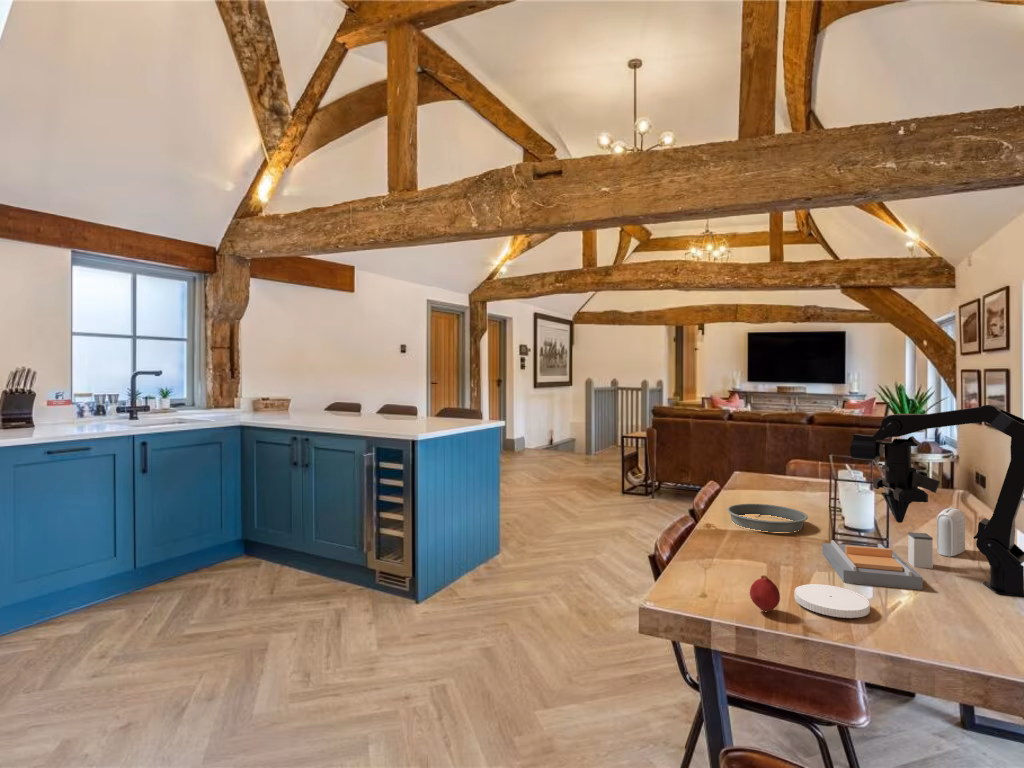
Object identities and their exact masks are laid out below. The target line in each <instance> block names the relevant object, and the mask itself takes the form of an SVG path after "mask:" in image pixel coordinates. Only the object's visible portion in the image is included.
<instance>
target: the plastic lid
mask: <svg viewBox="0 0 1024 768" xmlns="http://www.w3.org/2000/svg"><path fill="white" fill-rule="evenodd" d="M794 601H795V602H796V603H797V604H798V605H800V606H801V607H803V608H805V609H807V610H810V611H813V612H815V613H818V614H822V615H824V616H825V615H826V616H830V617H836V618H844V619H845V618H846V619H852V618H853V619H854V618H855V619H856V618H862V617H866V616H867V615H869V614H870V612H871V605H870V604H871V603H870V601H869V600H868V598H866V597H865V596H863V595H862V594H860V593H858V592H856V591H853V590H850V589H847V588H843V587H841V586H840V587H839V586H836V585H829V584H822V583H821V584H820V583H819V584H818V583H815V584H814V583H813V584H812V583H811V584H810V583H806V584H803V585H799V586H796V587H795V588H794Z"/></svg>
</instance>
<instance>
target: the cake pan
mask: <svg viewBox="0 0 1024 768" xmlns="http://www.w3.org/2000/svg"><path fill="white" fill-rule="evenodd" d="M726 510H727V513H729V514H730V517H731V518H730V519H731V522H732V521H733V522H734V523H735V524H737V525H739V526H742V527H745V528H750V529H755V530H761V531H768V532H794V531H798V530H800V529H801V530H802V529H803V526H804V523H805V521H807V520H808V518H809V516H808V514H807V513H805V512H804V511H801V510H798V509H795V508H791V507H787V506H782V505H781V506H780V505H777V504H776V505H775V504H765V503H738V504H733V505H731V506H728V507H727V509H726ZM745 514H760V515H771V516H777V517H782V518H786V519H790V520H793V521H787V520H782V521H780V520H768V519H767V520H766V519H760V520H758V519H759V518H758V519H752V518H747V517H743V516H739V515H745ZM801 530H800V531H801ZM798 532H799V531H798ZM794 533H795V532H794Z"/></svg>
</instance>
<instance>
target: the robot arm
mask: <svg viewBox="0 0 1024 768" xmlns="http://www.w3.org/2000/svg"><path fill="white" fill-rule="evenodd" d="M977 423H978V424H979V423H987V424H989V426H992V427H993V428H995V429H996V430H997V431H999V432H1001V433H1003V434H1004V435H1007V436H1008V437H1010V438H1011V439H1010V449H1009V450H1010V462H1009V463H1008V468H1007V471H1006V473H1005V477H1004V480H1003V483H1002V486H1001V489H1000V491H999V494H998V498H997V500H996V503H995V507H994V509H993V514H992V516H991V517H990V519H988V518H985V517H983V518H982V519H981V520H980V521H979V522H978V526H977V532H976V534H975V535H974V536H973V539H974V540H976V542H975V544H976V546H975V547H976V548H977V550H979V552H980V553H981V554H982V555H983V556H985V557H986V559H987V563H988V564H989V567H990V568H989V571H990V572H989V581H982V584H983V585H984V586H985V587H987V588H988V589H989V590H991V591H993V592H994V593H995V594H998V595H1003V596H1004V595H1006V596H1014V597H1015V596H1016V597H1024V565H1022V564H1023V563H1024V550H1023V549H1021V547H1019V546H1018V545H1017V544H1016V543H1015V541H1016V539H1015V538H1016V518H1017V515H1018V513H1019V509H1020V507H1021V504H1022V500H1023V497H1024V418H1022V417H1019V416H1017V415H1015V414H1013V413H1010V412H1009V411H1006V410H1004V409H1002V408H1000V407H999V406H997V405H994V404H985V405H981V406H975V407H970V408H969V407H968V408H962V409H955V410H954V409H953V410H947V411H939V412H934V413H896V414H895V413H894V414H890V415H887V416H885V417H884V418H883V419H882V420H881V423H880V428H878V430H877V431H876V432H875V434H874V435H868V434H860V433H854V434H853V435H852V440H851V442H850V446H849V454H850V457H851V458H852V459H853V460H856V459H857V460H863V461H865V460H866V461H876V462H877V461H879V459H880V458H882V457H884V464H881V468H882V469H883V470H884V477H875V478H874V479H873V480H872V488H874V489H875V490H879V489H880V488H882V489H884V492H881V493H880V495H881V496H882V497H883V499H884V501H885V502H886V504H887V506H888V508H889V510H890V512H891V514H892V516H893V518H894V520H895V522H897V523H899V524H902V523H904V519H905V517H906V513H907V510H908V508H909V505H911V503H929V494H928V493H927V492H926V491H925V490H928V491H929V492H931V493H937V491H938V489H939V485H940V483H941V481H940V480H937V479H935V478H931V477H929V476H928V473H927V472H925V471H923V470H919V469H916V468H915V467H913V466H912V465H913V464H912V463H913V462H912V447H919V446H922V442H920V441H919V440H917V438H915V437H914V436H913V435H912V436H909V437H908V438H899V437H902V436H903V437H904V436H906V435H909V434H910V435H911V434H912V433H913V434H914V433H916V432H922V431H924V430H929V429H935V428H943V427H952V426H953V427H954V426H962V425H968V424H969V425H970V424H977ZM897 437H898V438H897ZM892 438H894V439H893V440H892V441H884V440H888V439H892ZM918 487H919V488H918ZM921 488H922V489H921ZM923 489H925V490H923Z"/></svg>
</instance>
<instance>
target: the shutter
mask: <svg viewBox="0 0 1024 768" xmlns="http://www.w3.org/2000/svg"><path fill="white" fill-rule="evenodd" d="M845 545H846V556H847V557H848V558H849V559H850V560H851V561H852V563H853V564H854V565H855V566H856V567H860V568H871V569H882V570H894V571H903V567H902V566H901V565H900V564H899V563H898V562H896V561H895V560H894V559H893V558H892V551H893V549H892V548H890V549H886V548H887V547H884V548H873V547H874V546H868V547H860V546H861V545H855V546H847V545H848V544H845Z"/></svg>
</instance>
